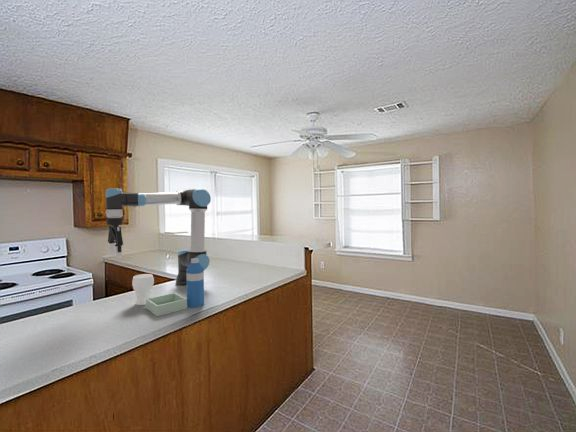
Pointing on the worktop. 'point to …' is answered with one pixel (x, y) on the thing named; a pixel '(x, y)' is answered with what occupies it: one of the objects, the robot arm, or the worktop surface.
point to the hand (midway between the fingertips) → (115, 256)
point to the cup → (142, 287)
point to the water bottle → (195, 284)
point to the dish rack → (166, 304)
